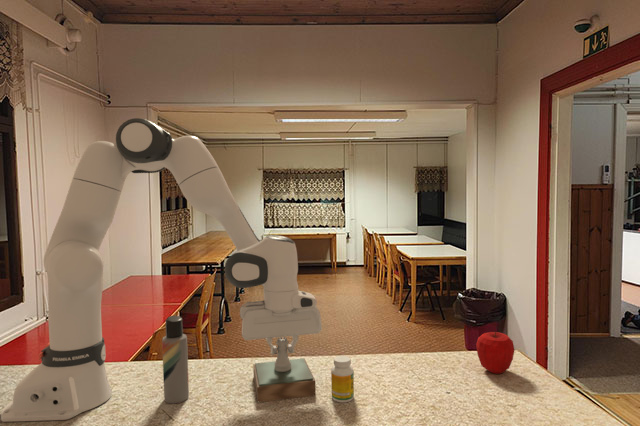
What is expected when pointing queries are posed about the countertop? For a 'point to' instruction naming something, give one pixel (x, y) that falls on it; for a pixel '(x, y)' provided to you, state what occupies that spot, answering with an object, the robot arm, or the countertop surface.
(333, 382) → the supplement bottle
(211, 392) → the countertop surface
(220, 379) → the countertop surface
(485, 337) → the apple
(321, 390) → the countertop surface
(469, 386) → the countertop surface
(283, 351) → the rook chess piece
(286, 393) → the walnut plinth
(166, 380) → the lotion bottle
